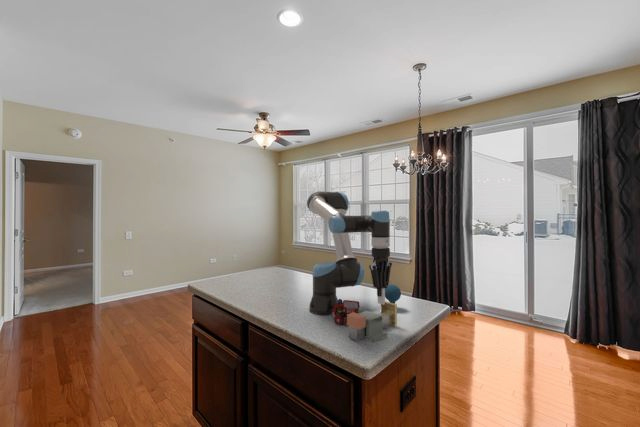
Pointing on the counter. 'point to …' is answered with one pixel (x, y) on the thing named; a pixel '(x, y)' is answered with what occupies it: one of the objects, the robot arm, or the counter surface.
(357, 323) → the block
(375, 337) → the housing
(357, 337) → the shaft
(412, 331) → the counter surface
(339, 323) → the toy fire truck
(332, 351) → the counter surface
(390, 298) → the teal egg
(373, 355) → the counter surface
